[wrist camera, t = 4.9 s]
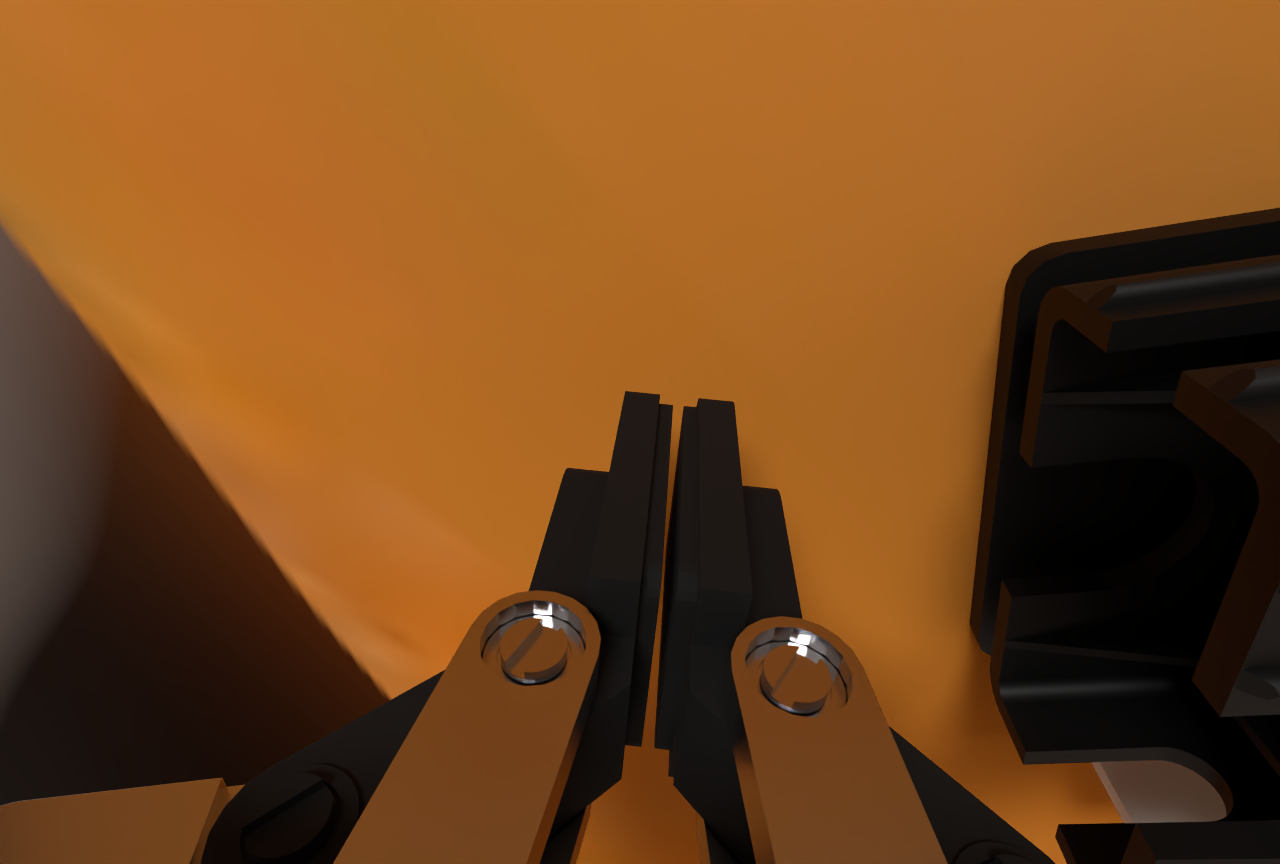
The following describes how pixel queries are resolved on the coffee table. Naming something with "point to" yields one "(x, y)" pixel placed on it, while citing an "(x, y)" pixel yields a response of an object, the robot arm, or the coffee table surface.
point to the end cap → (1142, 524)
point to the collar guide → (1159, 792)
